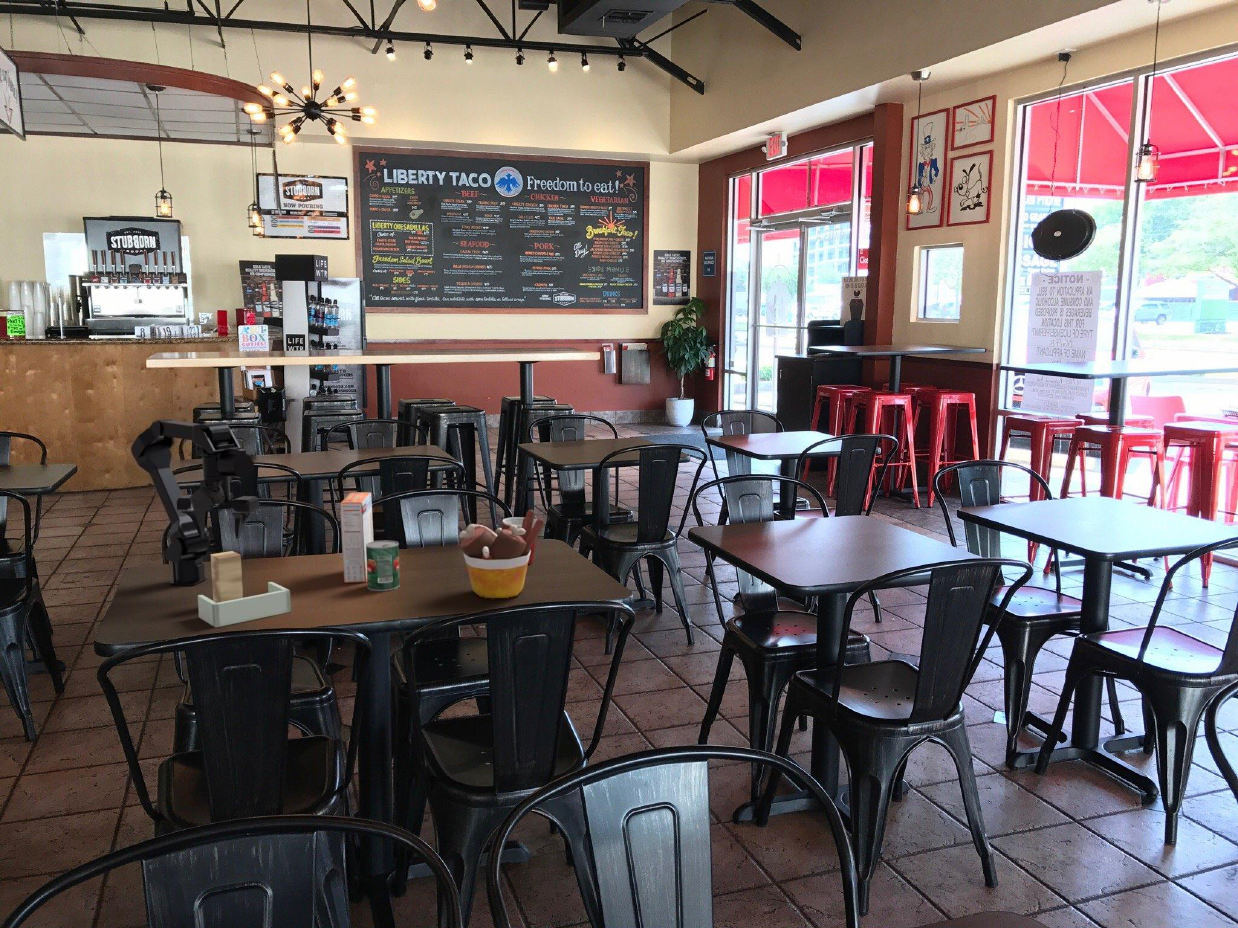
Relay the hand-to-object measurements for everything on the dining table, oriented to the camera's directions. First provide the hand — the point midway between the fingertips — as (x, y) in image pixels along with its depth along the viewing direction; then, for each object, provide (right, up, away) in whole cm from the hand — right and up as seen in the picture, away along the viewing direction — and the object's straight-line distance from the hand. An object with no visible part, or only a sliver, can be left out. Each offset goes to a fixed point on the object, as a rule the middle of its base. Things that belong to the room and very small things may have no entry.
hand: (219, 537), depth 237 cm
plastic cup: (+71, -9, +29) cm, 77 cm away
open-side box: (+13, -16, -18) cm, 27 cm away
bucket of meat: (+68, -14, 0) cm, 70 cm away
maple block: (+6, -15, -11) cm, 19 cm away
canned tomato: (+39, -13, +5) cm, 41 cm away
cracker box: (+30, -11, +15) cm, 35 cm away
